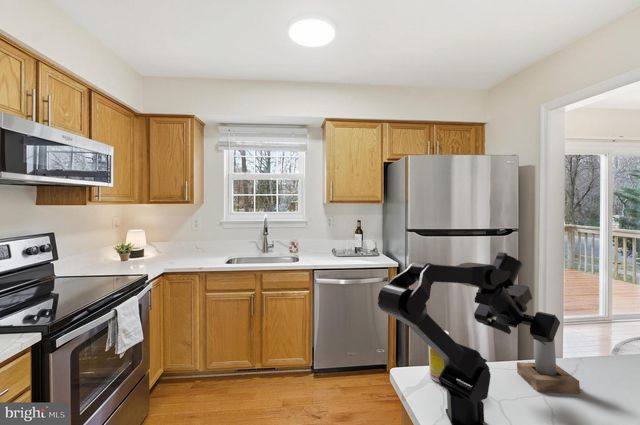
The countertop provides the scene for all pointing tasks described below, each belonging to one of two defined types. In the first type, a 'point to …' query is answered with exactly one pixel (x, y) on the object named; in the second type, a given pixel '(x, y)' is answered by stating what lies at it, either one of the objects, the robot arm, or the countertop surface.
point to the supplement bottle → (435, 364)
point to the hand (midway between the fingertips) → (527, 337)
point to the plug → (545, 358)
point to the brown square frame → (548, 379)
